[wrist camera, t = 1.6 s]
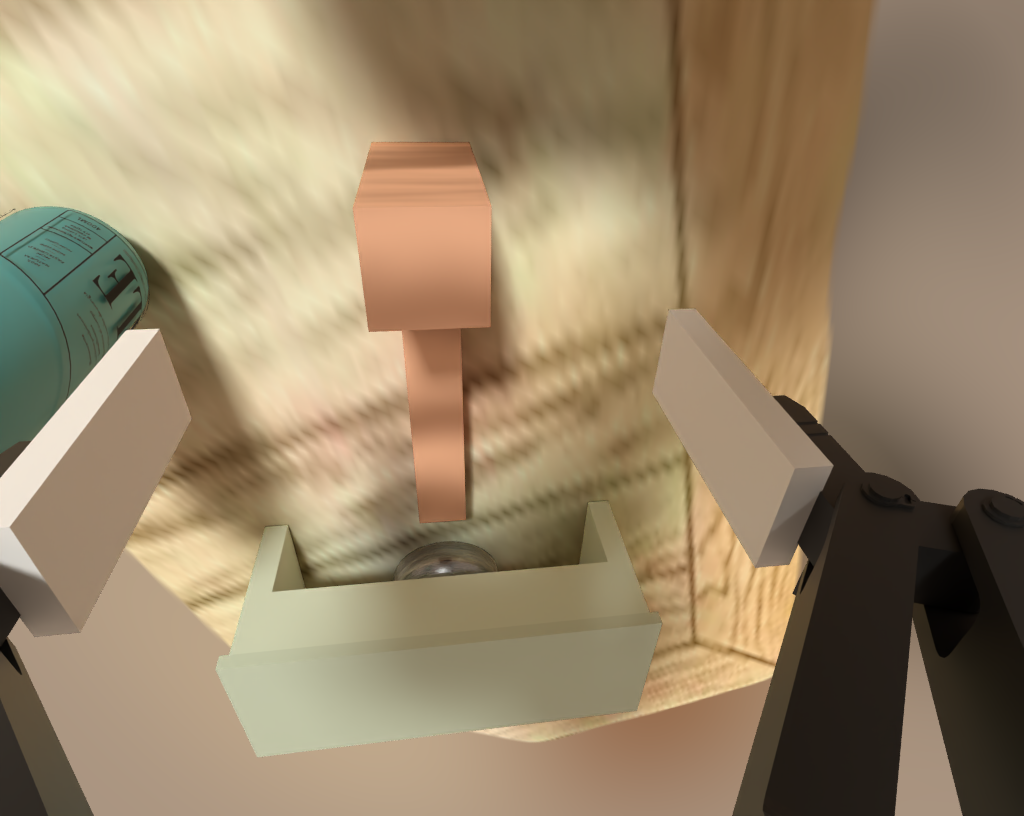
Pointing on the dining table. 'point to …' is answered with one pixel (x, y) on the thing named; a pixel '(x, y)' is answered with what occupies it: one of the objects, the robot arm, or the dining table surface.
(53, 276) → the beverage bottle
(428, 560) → the puck
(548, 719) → the shelf
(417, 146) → the paddle
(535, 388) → the dining table surface
